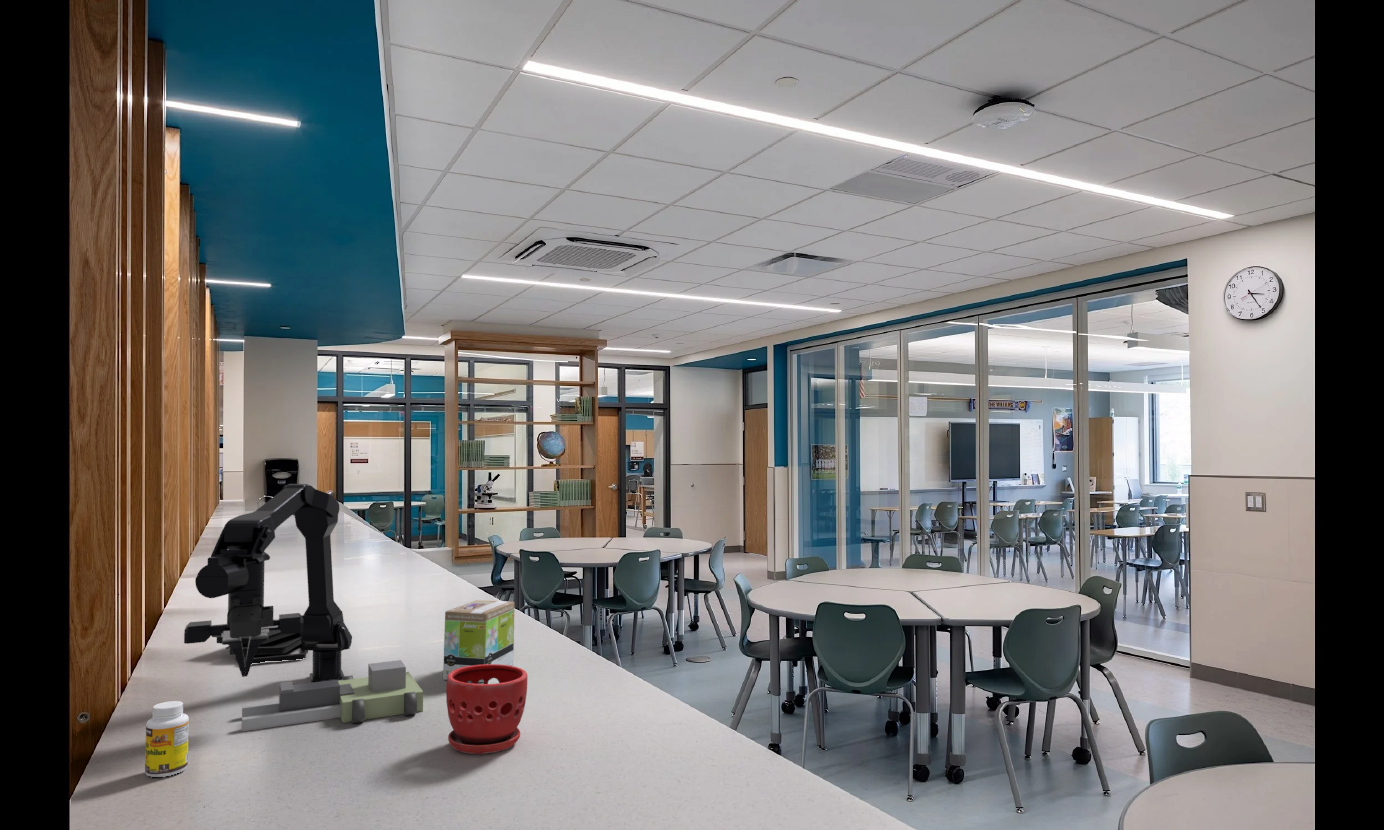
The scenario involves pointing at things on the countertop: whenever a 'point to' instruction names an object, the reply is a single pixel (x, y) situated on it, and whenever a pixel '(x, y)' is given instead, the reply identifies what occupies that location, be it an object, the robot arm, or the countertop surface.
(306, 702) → the dark grey stepped block
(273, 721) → the toy flatbed truck
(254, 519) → the robot arm
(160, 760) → the supplement bottle
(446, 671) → the tea box
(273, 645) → the tray
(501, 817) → the countertop surface
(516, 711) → the plant pot
